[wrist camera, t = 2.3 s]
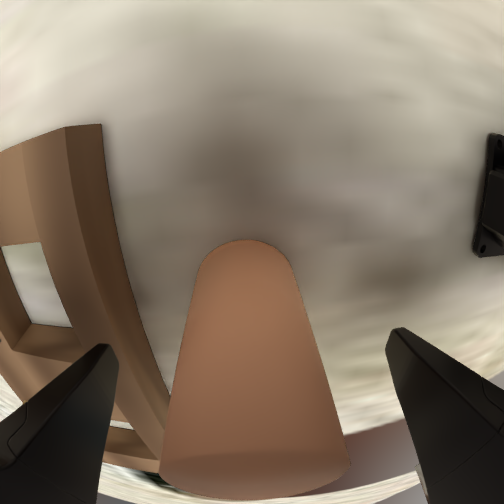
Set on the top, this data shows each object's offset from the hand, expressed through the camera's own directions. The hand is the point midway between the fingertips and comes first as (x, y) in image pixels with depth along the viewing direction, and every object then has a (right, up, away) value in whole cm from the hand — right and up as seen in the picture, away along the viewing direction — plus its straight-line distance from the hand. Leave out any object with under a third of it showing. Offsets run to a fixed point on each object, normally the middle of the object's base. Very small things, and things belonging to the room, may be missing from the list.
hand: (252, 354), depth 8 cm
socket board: (-11, -3, +5) cm, 13 cm away
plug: (0, +2, +4) cm, 4 cm away
